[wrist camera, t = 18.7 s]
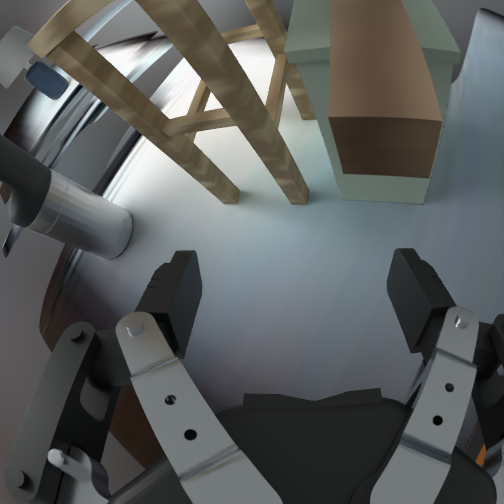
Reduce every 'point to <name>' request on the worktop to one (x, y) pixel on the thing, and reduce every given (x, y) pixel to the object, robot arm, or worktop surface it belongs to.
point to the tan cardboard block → (380, 91)
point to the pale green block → (317, 86)
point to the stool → (212, 80)
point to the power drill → (478, 442)
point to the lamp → (27, 65)
